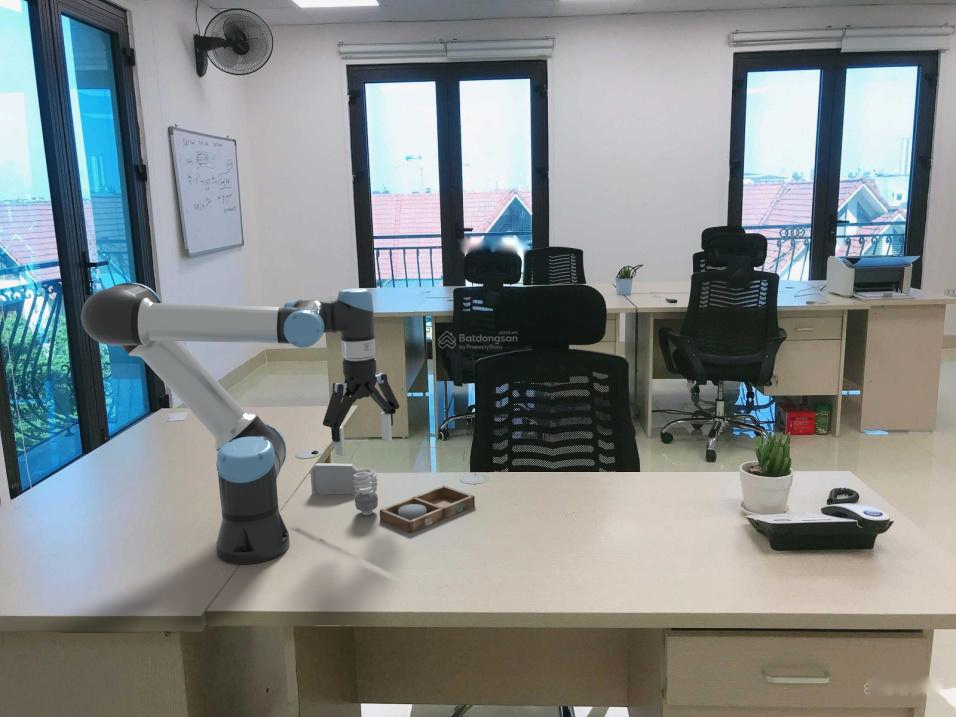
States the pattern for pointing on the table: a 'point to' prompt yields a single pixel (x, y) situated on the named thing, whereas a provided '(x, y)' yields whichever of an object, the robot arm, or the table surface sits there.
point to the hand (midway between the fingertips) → (364, 447)
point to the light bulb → (365, 490)
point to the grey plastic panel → (333, 478)
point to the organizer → (429, 508)
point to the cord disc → (412, 511)
